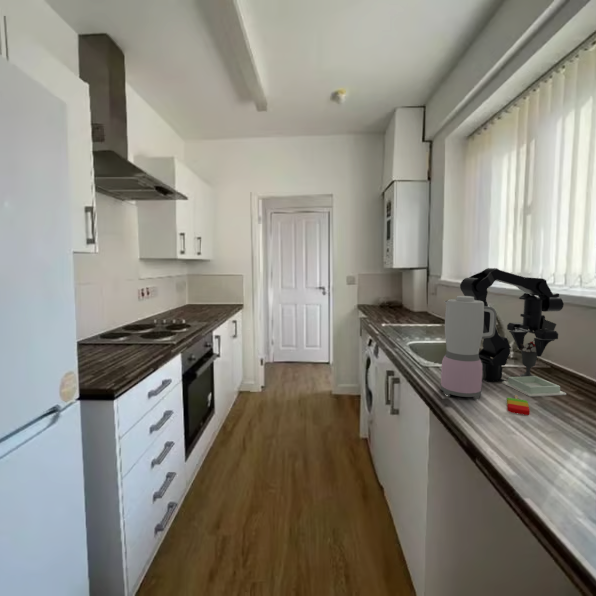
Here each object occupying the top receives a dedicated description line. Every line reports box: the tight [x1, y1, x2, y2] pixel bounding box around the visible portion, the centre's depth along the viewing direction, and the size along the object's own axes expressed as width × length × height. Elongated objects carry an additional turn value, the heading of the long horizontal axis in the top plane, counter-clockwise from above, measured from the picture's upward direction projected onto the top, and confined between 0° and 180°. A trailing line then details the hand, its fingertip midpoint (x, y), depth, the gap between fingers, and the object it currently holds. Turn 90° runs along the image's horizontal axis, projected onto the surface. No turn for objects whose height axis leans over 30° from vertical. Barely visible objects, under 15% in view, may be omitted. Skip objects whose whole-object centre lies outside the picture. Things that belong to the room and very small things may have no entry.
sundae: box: [518, 340, 538, 377], centre depth 135 cm, size 7×7×15 cm
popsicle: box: [506, 394, 531, 416], centre depth 109 cm, size 6×15×2 cm, turn 151°
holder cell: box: [501, 375, 567, 397], centre depth 123 cm, size 13×13×2 cm
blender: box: [439, 295, 497, 401], centre depth 116 cm, size 16×12×32 cm
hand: (529, 353), depth 135 cm, fingers open, 9 cm apart
